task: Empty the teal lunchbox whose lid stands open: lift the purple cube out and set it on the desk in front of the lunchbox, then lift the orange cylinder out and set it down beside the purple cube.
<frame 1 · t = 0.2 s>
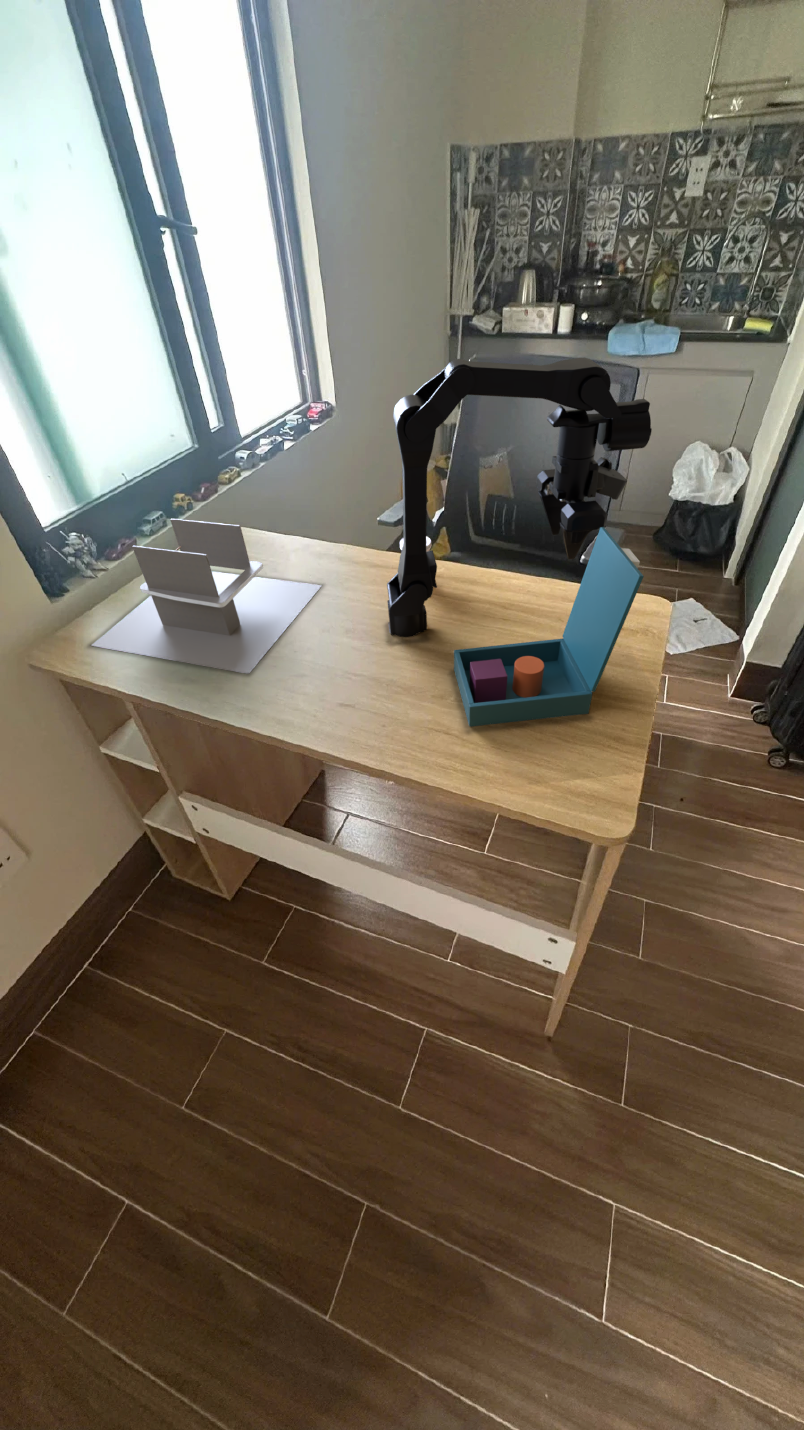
hand: (563, 546, 103), 15 cm above the table, tool pointing down, fingers open, 9 cm apart
orange cylinder: (526, 688, 97), point 1 cm above the table, touching lunchbox
purple cube: (487, 693, 97), point 1 cm above the table, touching lunchbox
smoothie: (417, 585, 125), on the table
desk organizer: (212, 614, 121), on the table
lunchbox lid: (604, 610, 88), point 14 cm above the table, hinge at 100.0°
lunchbox: (517, 693, 97), on the table
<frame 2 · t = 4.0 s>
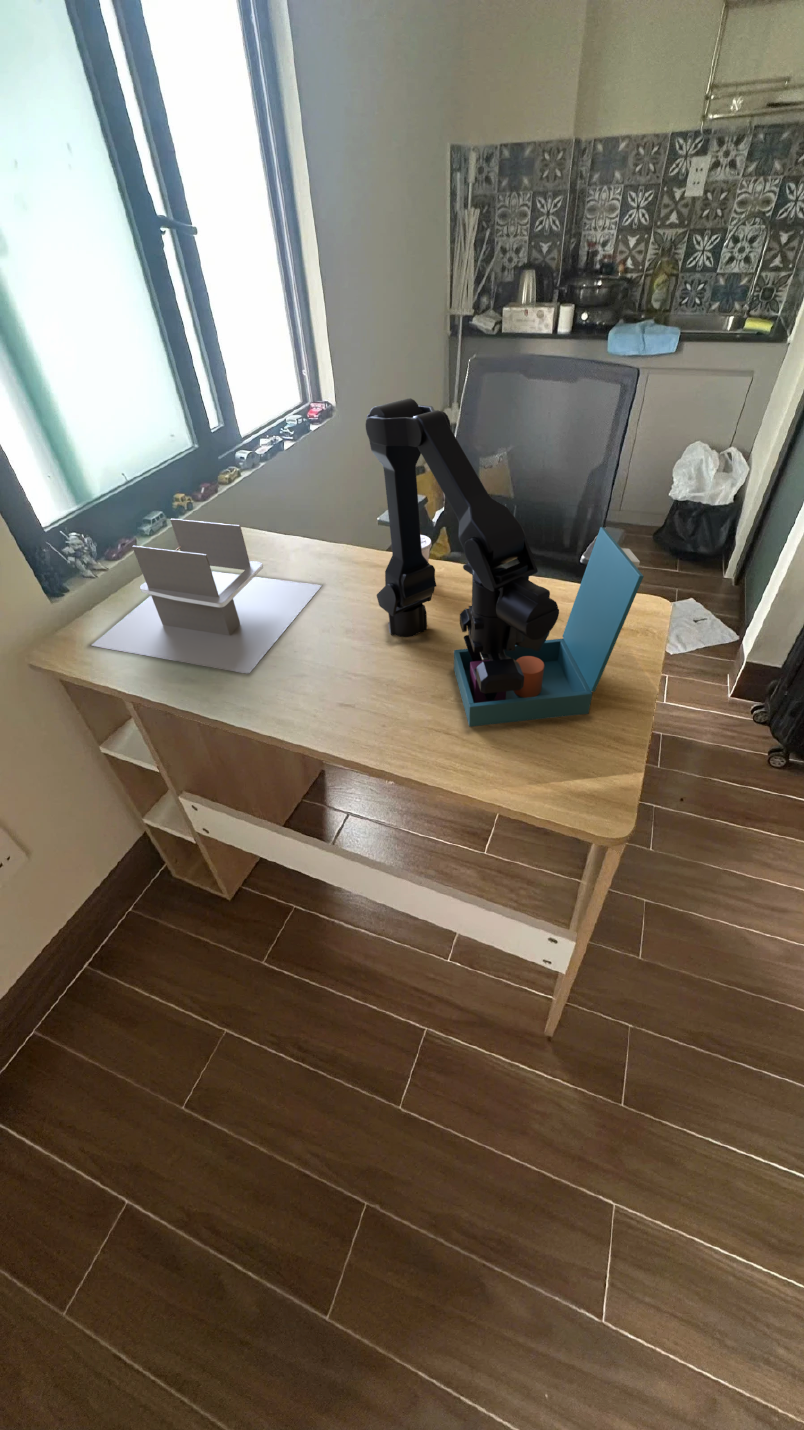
hand: (487, 689, 96), 2 cm above the table, tool pointing down, fingers closed on purple cube, 4 cm apart
purple cube: (487, 693, 97), point 1 cm above the table, touching gripper, lunchbox
everything else where it was.
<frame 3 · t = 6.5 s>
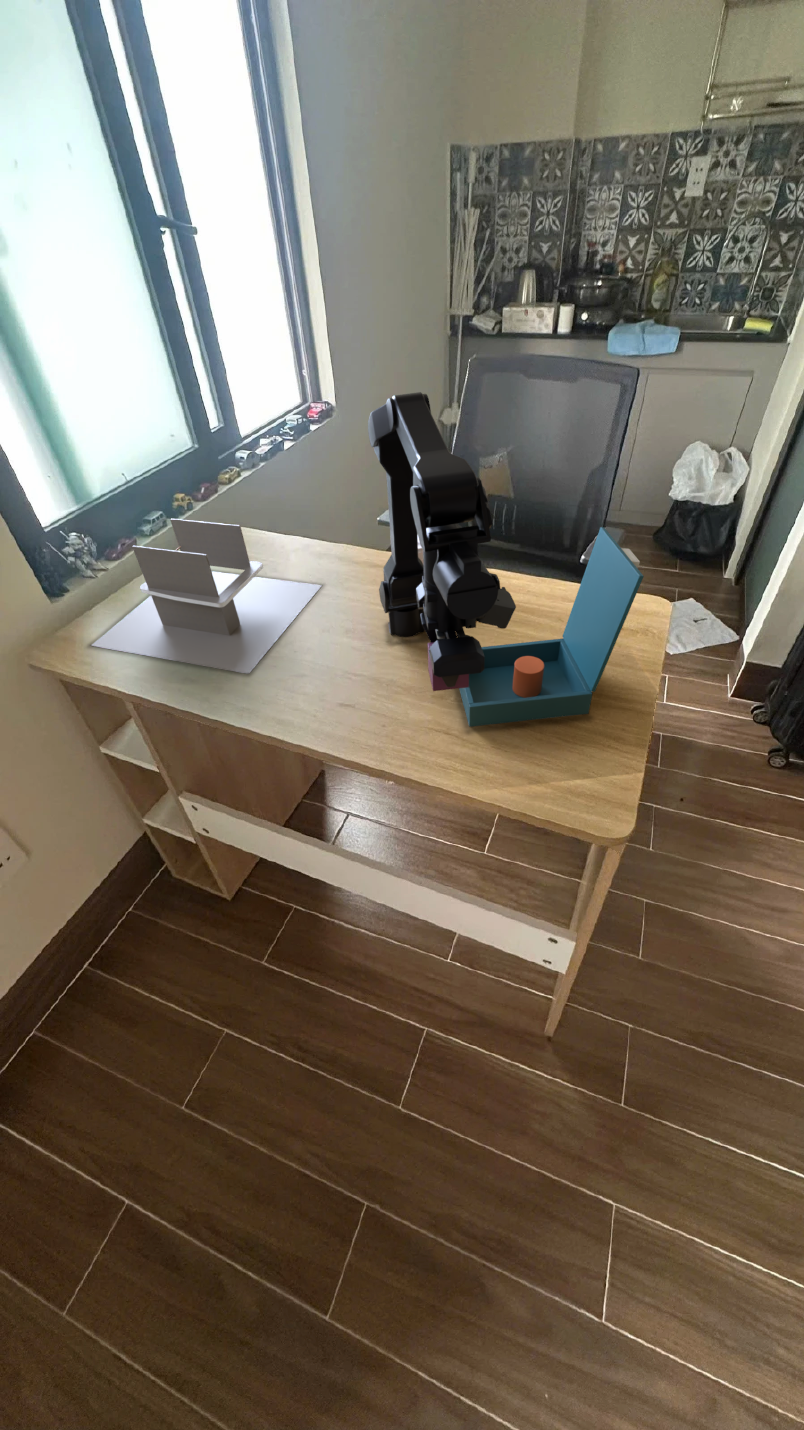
hand: (448, 675, 84), 12 cm above the table, tool pointing down, fingers closed on purple cube, 4 cm apart
purple cube: (448, 679, 84), point 11 cm above the table, touching gripper
everything else where it was.
when the fingers open (1 cm above the table, at t = 9.4 s): purple cube stays where it is, on the table.
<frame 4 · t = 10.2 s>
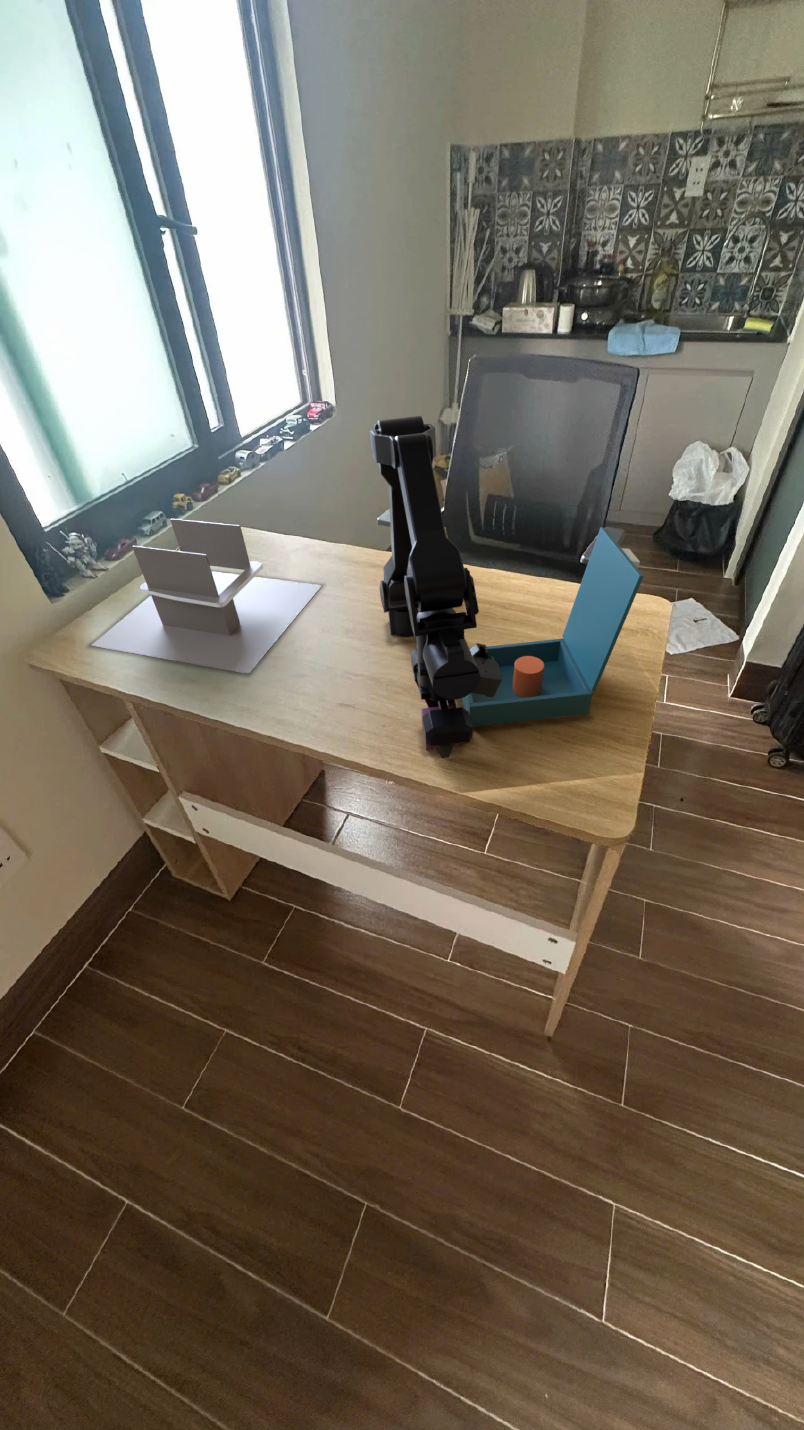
hand: (440, 735, 89), 1 cm above the table, tool pointing down, fingers open, 9 cm apart
purple cube: (440, 741, 90), on the table
everything else where it was.
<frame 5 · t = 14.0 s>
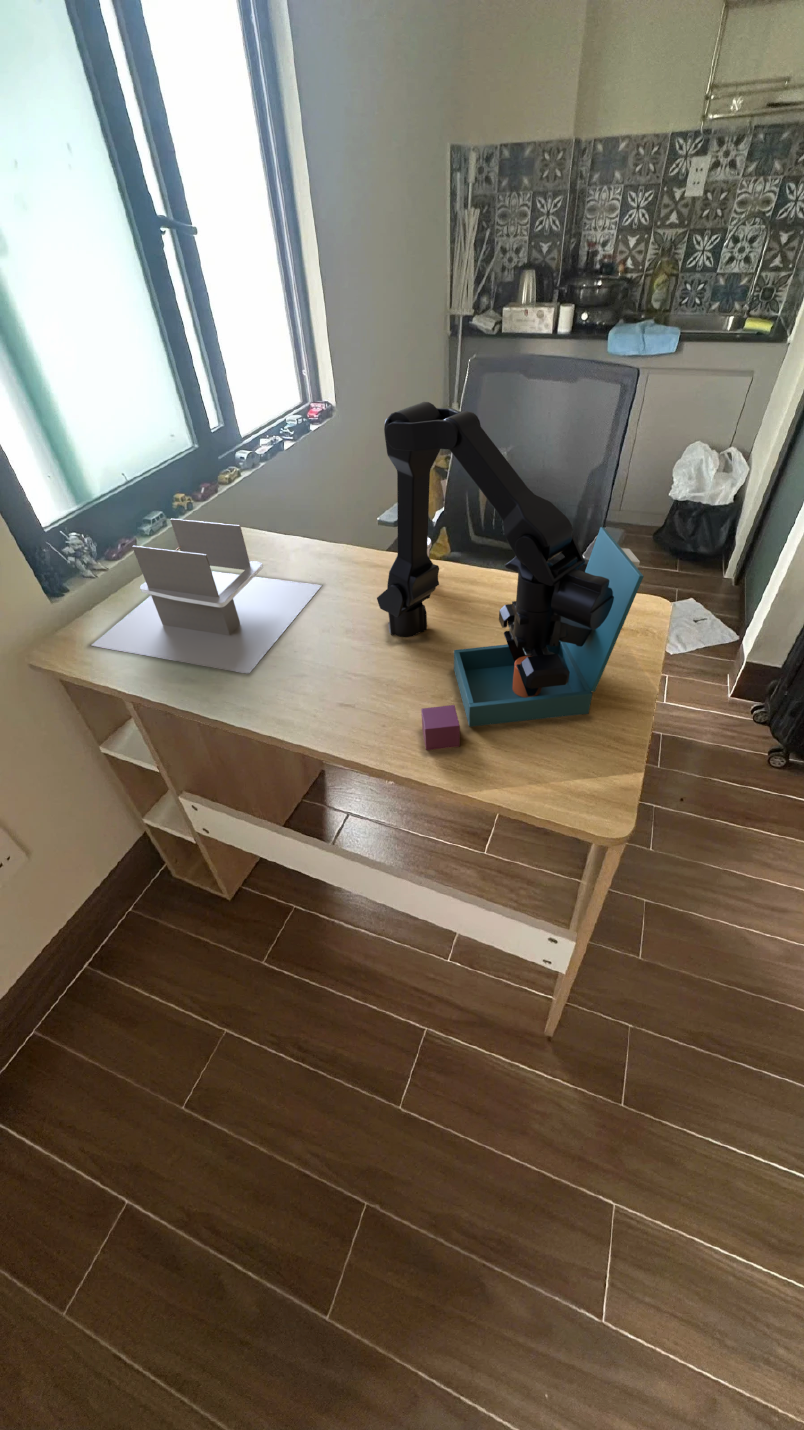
hand: (527, 685, 96), 2 cm above the table, tool pointing down, fingers closed on orange cylinder, 4 cm apart
orange cylinder: (526, 688, 97), point 1 cm above the table, touching gripper, lunchbox
everything else where it was.
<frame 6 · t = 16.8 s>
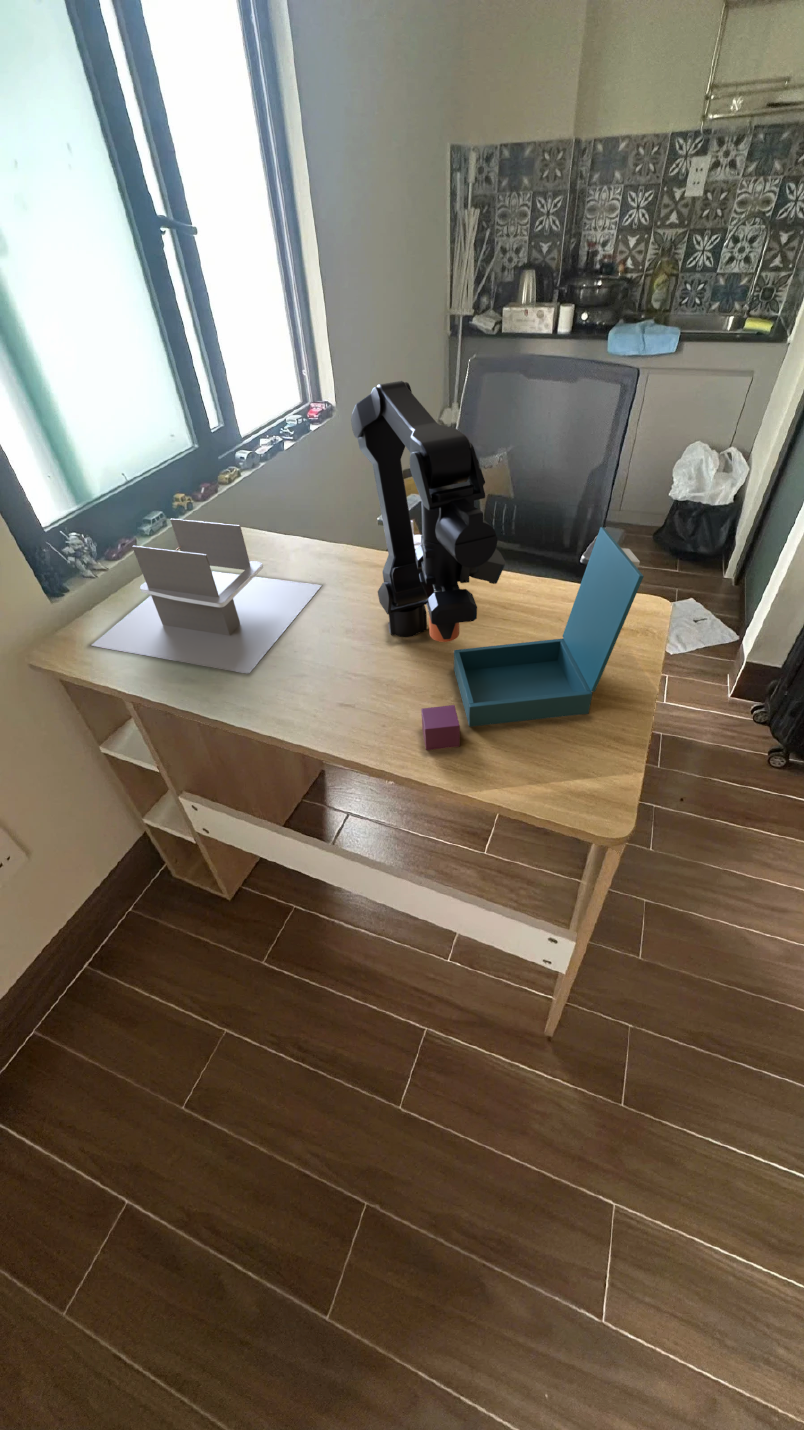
hand: (444, 629, 92), 12 cm above the table, tool pointing down, fingers closed on orange cylinder, 4 cm apart
orange cylinder: (444, 633, 92), point 11 cm above the table, touching gripper
everything else where it was.
when the fingers open (1 cm above the table, at t = 19.9 s): orange cylinder stays where it is, on the table.
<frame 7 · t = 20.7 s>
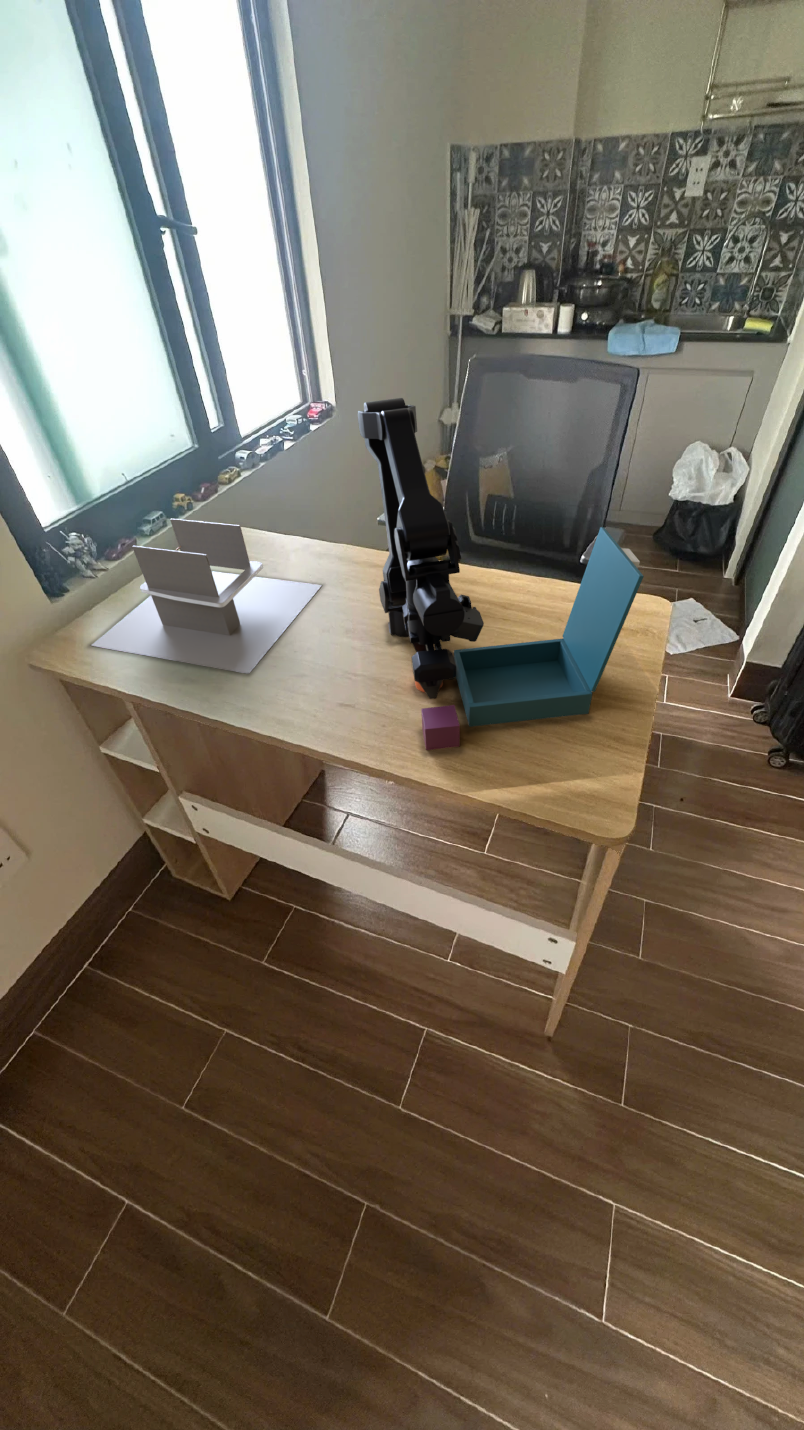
hand: (429, 680, 99), 2 cm above the table, tool pointing down, fingers open, 9 cm apart
orange cylinder: (429, 687, 100), on the table
everything else where it was.
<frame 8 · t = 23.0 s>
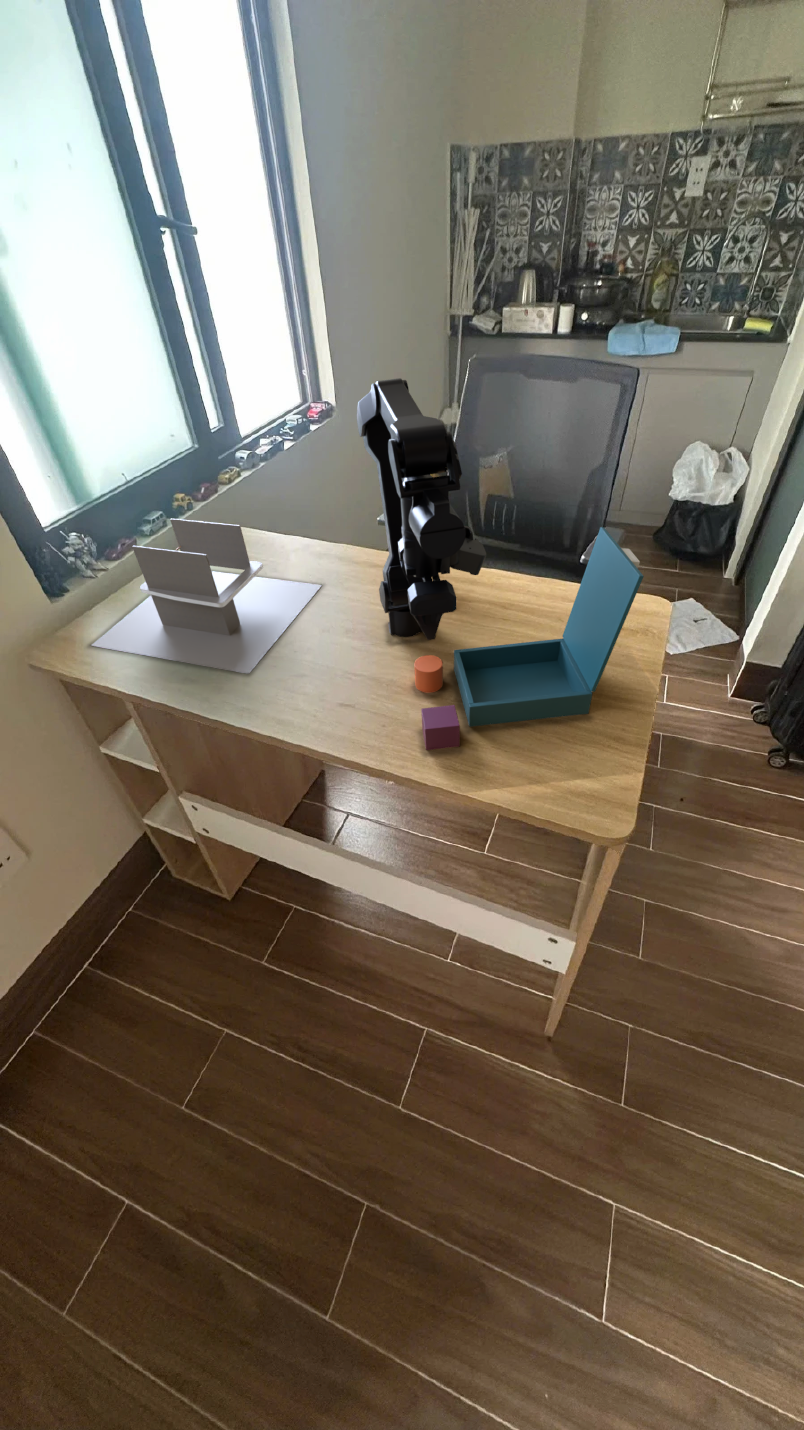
hand: (426, 622, 91), 13 cm above the table, tool pointing down, fingers open, 9 cm apart
nothing on the table moved.
at the end: purple cube inside the target area (0.1 cm from its centre), on the table; orange cylinder inside the target area (0.1 cm from its centre), on the table; orange cylinder tilted 0° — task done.
